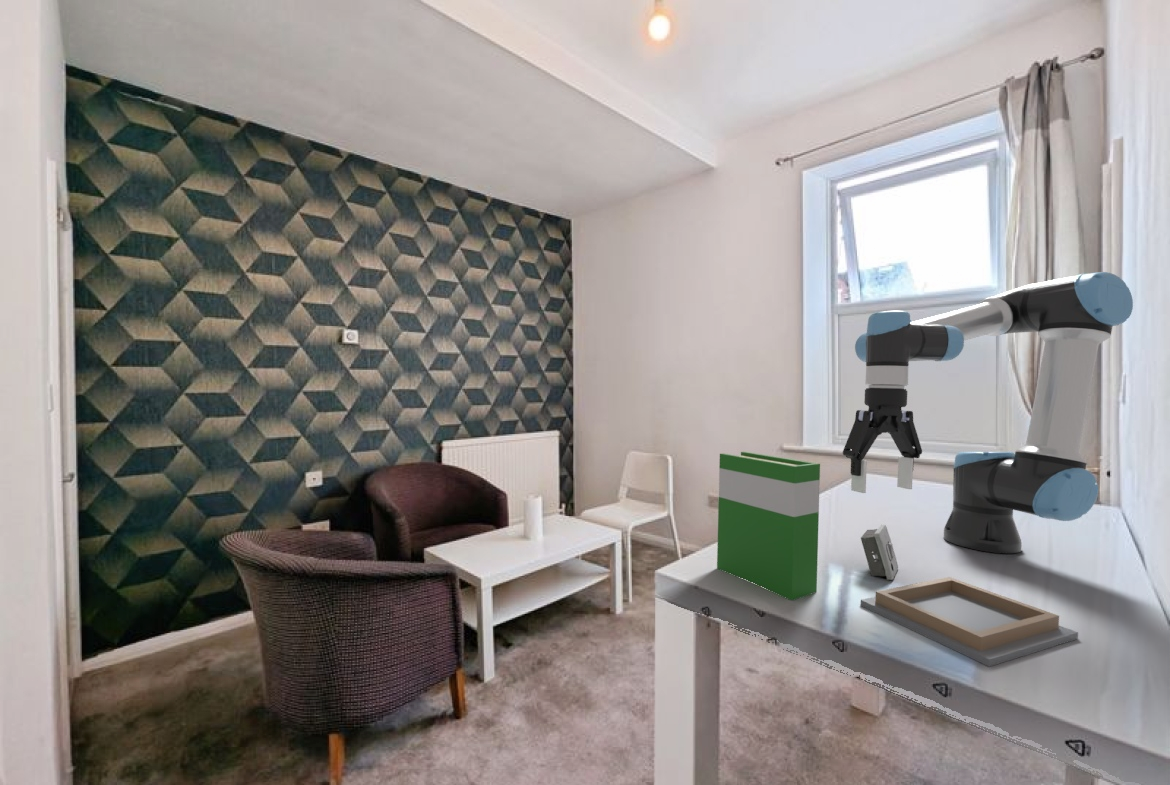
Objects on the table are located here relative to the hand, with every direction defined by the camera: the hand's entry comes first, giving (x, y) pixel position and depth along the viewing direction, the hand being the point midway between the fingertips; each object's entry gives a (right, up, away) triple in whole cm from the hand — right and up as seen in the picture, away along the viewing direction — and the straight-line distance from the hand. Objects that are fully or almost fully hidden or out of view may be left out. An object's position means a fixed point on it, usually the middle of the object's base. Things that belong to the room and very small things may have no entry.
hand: (882, 490), depth 103 cm
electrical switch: (0, -17, 0) cm, 17 cm away
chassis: (+1, -18, -21) cm, 27 cm away
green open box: (-26, -17, -5) cm, 32 cm away
